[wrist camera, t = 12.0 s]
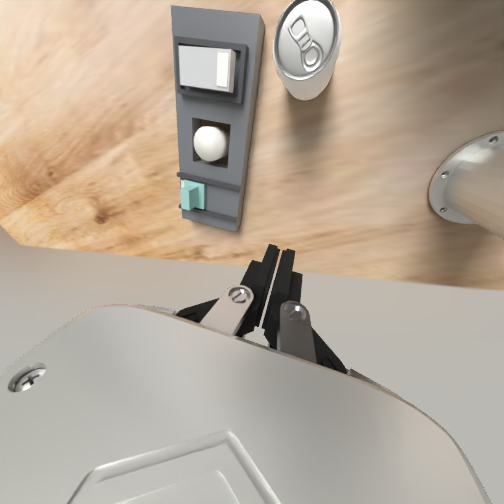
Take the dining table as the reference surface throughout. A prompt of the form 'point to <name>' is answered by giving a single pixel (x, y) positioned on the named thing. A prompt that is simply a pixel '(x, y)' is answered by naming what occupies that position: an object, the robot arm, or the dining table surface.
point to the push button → (211, 143)
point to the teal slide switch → (193, 195)
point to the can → (307, 46)
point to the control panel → (218, 108)
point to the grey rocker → (207, 68)
